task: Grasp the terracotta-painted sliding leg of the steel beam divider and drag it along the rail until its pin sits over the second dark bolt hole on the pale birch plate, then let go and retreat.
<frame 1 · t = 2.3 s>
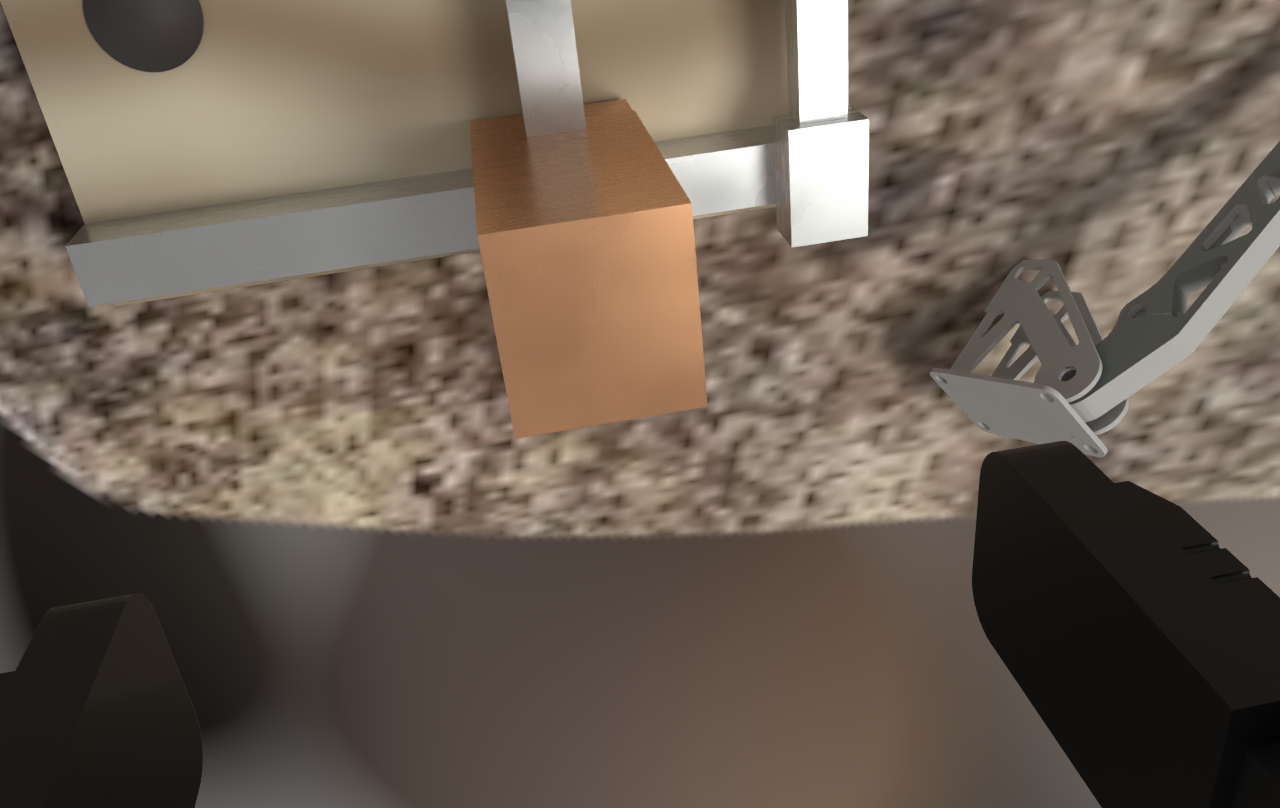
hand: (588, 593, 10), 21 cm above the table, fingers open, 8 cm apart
divider beam: (468, 118, 26), on the bolt plate, point 3 cm above the table
sliding leg: (563, 153, 23), point 6 cm above the table, slide at 0.0 cm
bolt plate: (451, 11, 27), on the table
bracket: (1225, 108, 32), on the table
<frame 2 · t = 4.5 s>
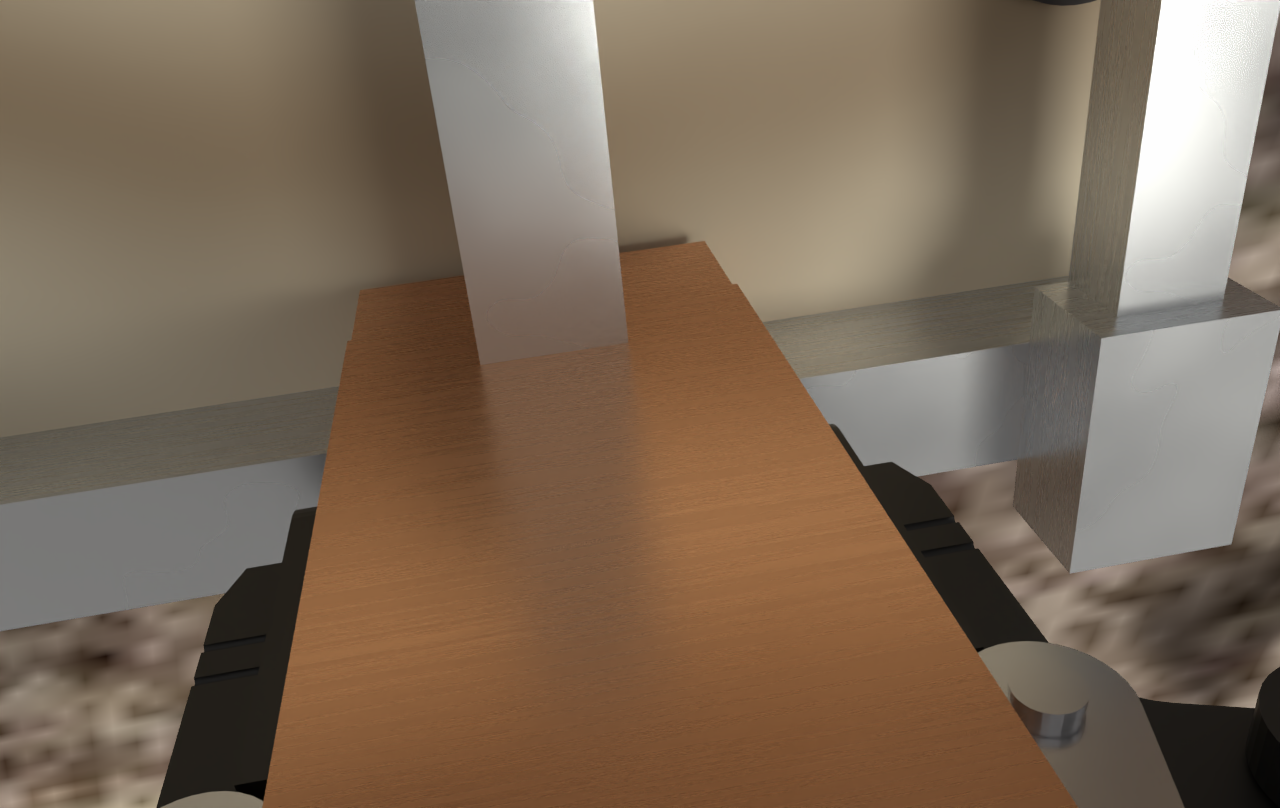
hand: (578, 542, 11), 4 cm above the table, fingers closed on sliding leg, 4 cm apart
divider beam: (343, 302, 11), on the bolt plate, point 3 cm above the table
sliding leg: (574, 444, 9), point 6 cm above the table, slide at 0.0 cm, touching gripper
bolt plate: (322, 48, 12), on the table
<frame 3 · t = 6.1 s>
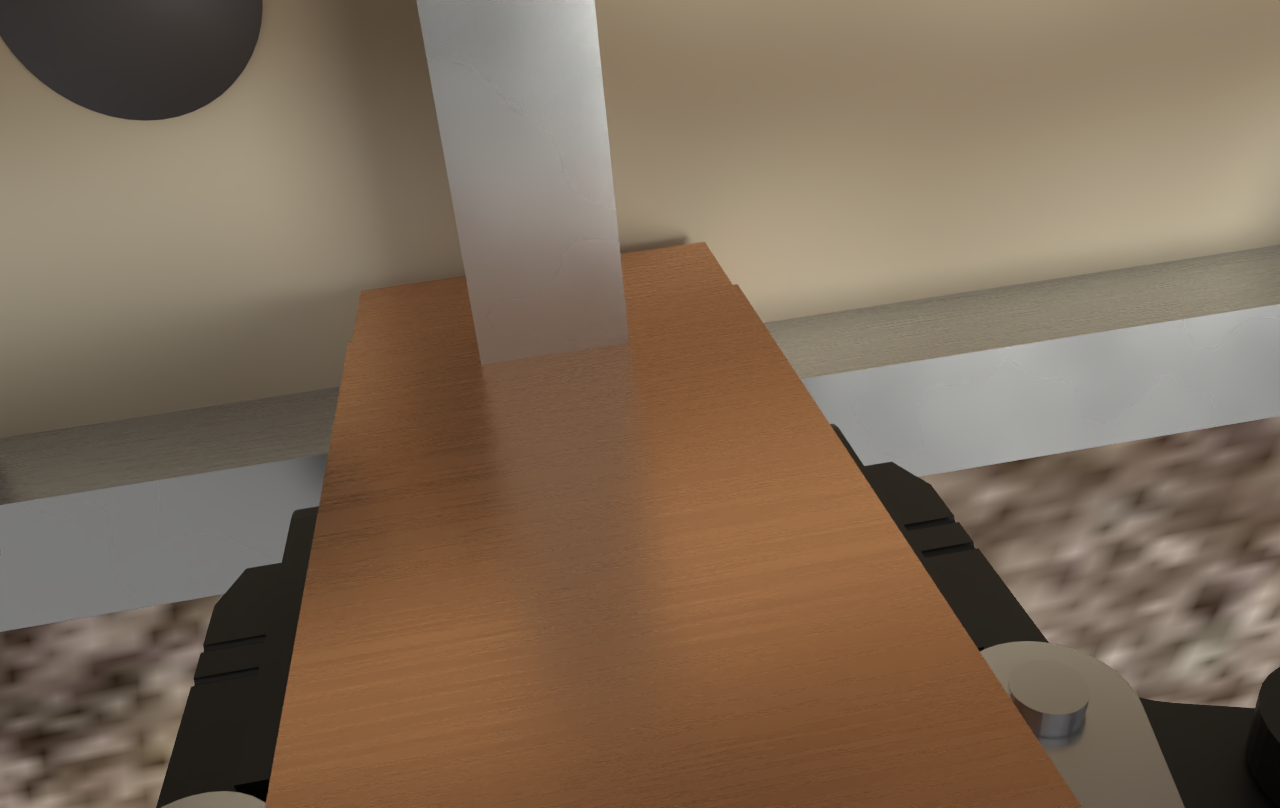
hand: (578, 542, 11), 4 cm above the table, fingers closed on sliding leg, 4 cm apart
divider beam: (853, 230, 11), on the bolt plate, point 3 cm above the table
sliding leg: (576, 444, 9), point 6 cm above the table, slide at 5.4 cm, touching gripper
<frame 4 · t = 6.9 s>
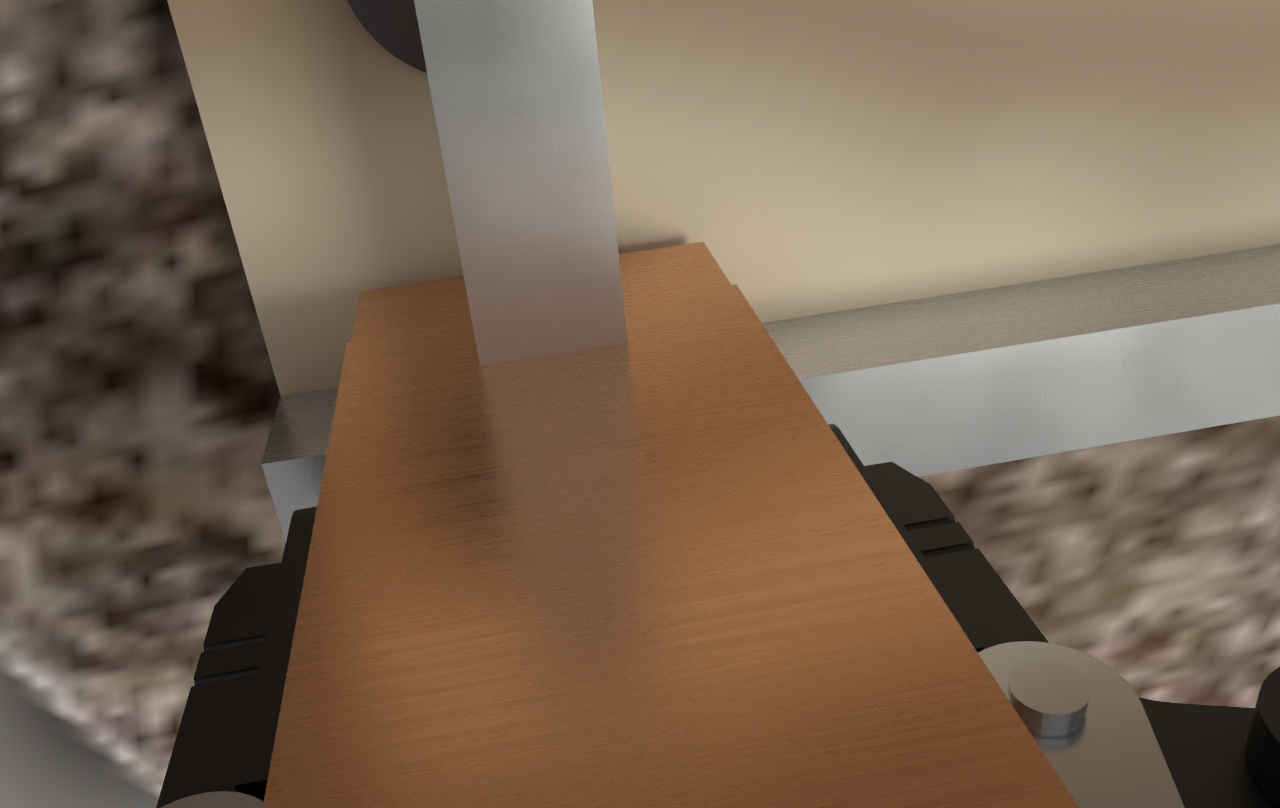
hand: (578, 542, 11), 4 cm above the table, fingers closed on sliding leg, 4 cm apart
divider beam: (1146, 187, 12), on the bolt plate, point 3 cm above the table
sliding leg: (574, 444, 9), point 6 cm above the table, slide at 8.8 cm, touching gripper
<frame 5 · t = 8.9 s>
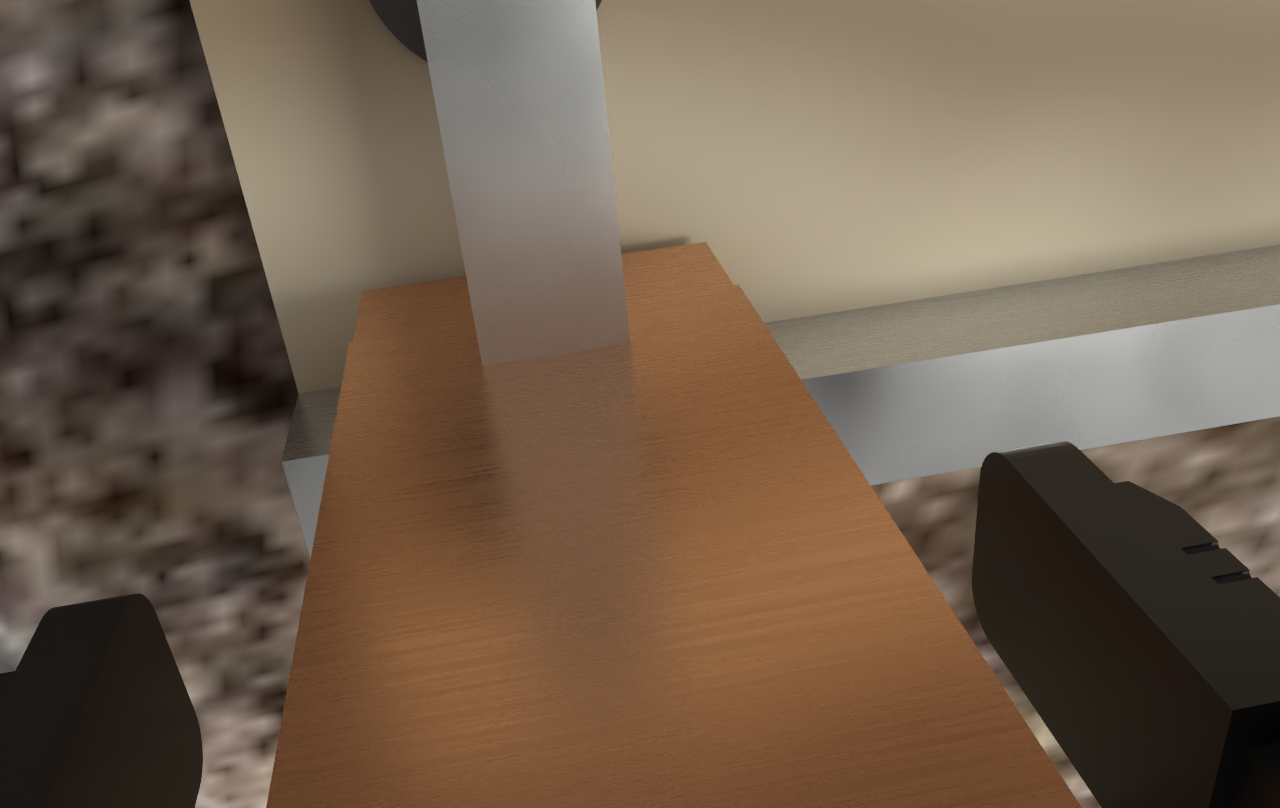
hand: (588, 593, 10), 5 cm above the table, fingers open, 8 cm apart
divider beam: (1165, 185, 12), on the bolt plate, point 3 cm above the table
sliding leg: (577, 445, 9), point 6 cm above the table, slide at 9.0 cm
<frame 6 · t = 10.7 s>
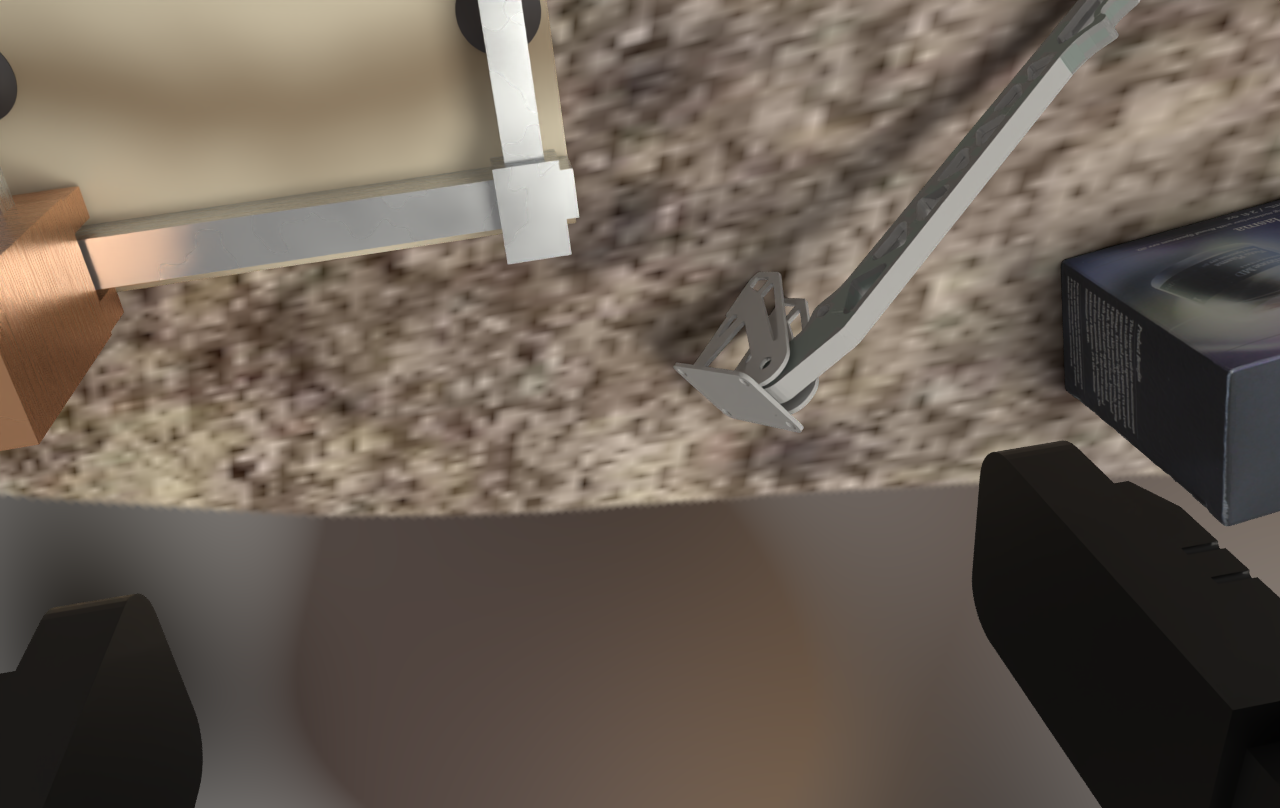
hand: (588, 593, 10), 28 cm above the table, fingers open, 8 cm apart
divider beam: (234, 161, 32), on the bolt plate, point 3 cm above the table
small box: (1180, 288, 43), on the table
bolt plate: (230, 74, 33), on the table
bracket: (917, 142, 39), on the table
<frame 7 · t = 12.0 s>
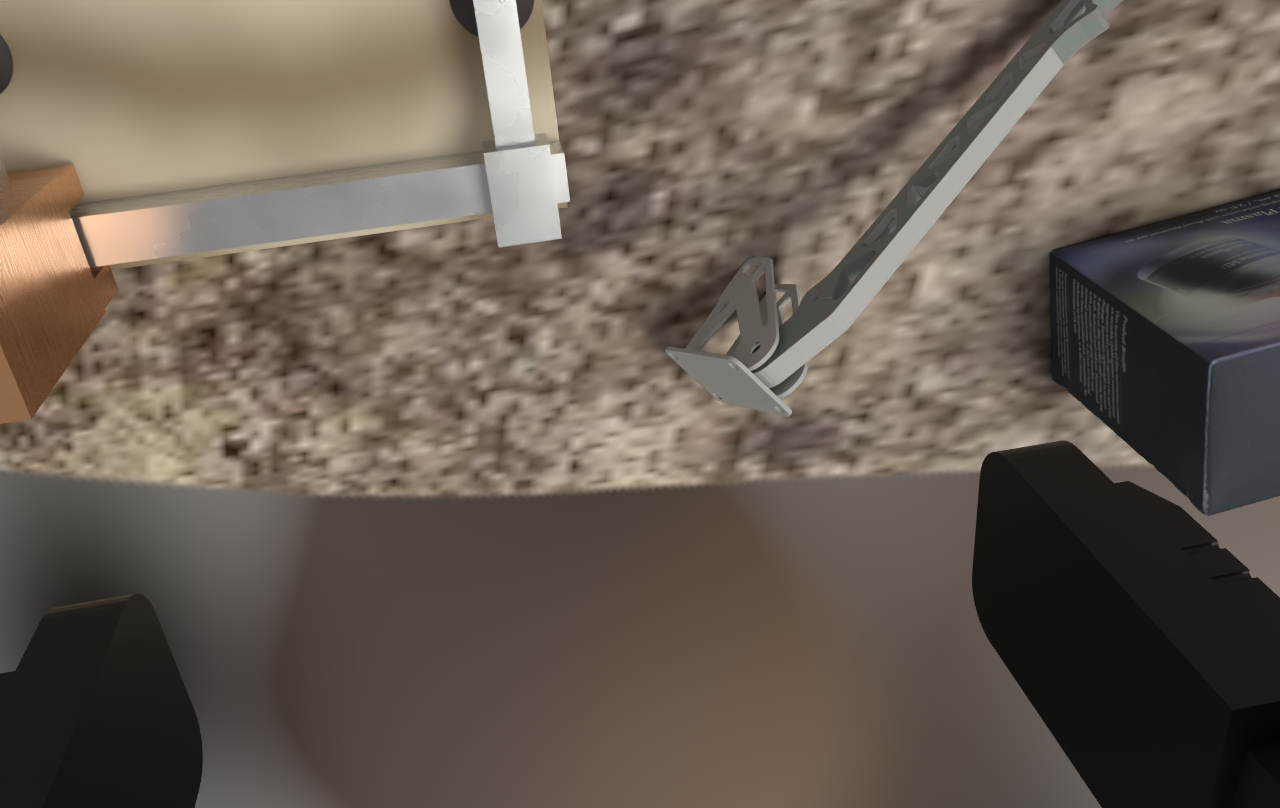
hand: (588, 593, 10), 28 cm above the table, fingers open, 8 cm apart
divider beam: (228, 141, 32), on the bolt plate, point 3 cm above the table
small box: (1168, 280, 43), on the table
bolt plate: (225, 55, 33), on the table
bracket: (909, 130, 39), on the table
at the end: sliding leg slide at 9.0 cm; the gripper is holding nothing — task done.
